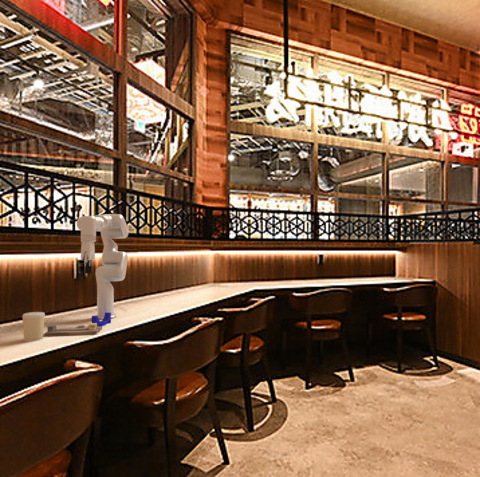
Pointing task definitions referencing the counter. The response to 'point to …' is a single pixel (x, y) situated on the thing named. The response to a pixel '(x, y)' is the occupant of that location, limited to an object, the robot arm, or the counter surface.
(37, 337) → the coffee cup
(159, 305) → the counter surface
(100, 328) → the board
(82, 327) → the strap
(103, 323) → the cable clip
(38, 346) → the counter surface
